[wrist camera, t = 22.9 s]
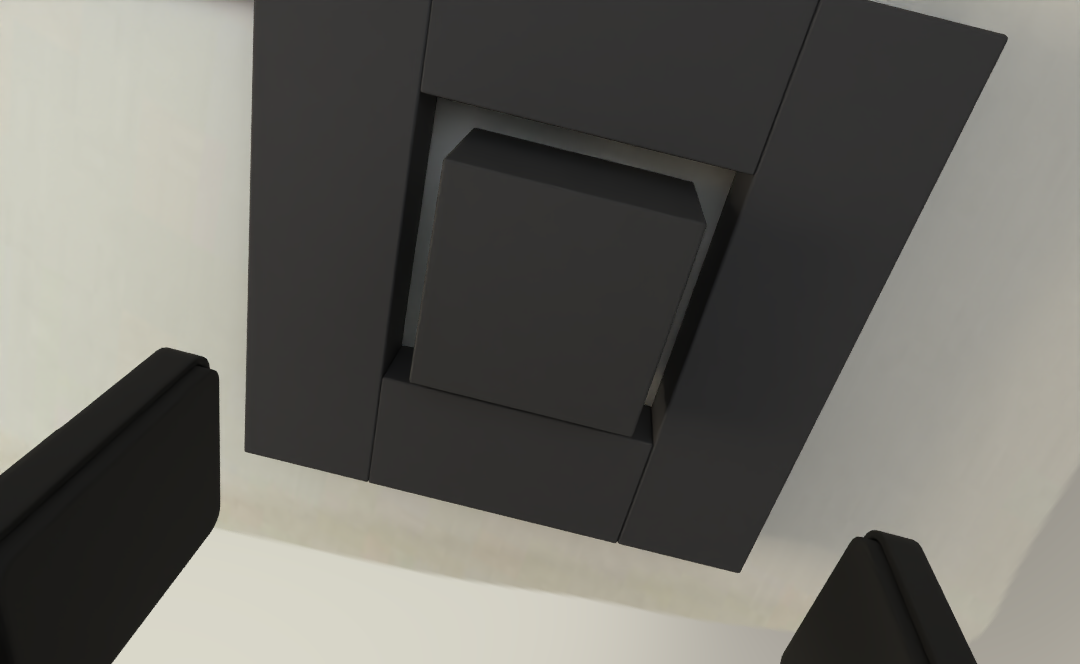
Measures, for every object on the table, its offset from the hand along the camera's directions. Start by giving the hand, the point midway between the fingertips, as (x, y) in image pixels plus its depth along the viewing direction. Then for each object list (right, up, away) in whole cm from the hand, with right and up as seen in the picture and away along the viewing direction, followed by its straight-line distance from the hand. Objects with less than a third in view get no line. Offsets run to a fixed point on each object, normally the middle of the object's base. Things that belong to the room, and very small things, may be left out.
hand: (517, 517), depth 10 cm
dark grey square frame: (+1, +5, +10) cm, 11 cm away
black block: (+1, +5, +10) cm, 11 cm away
